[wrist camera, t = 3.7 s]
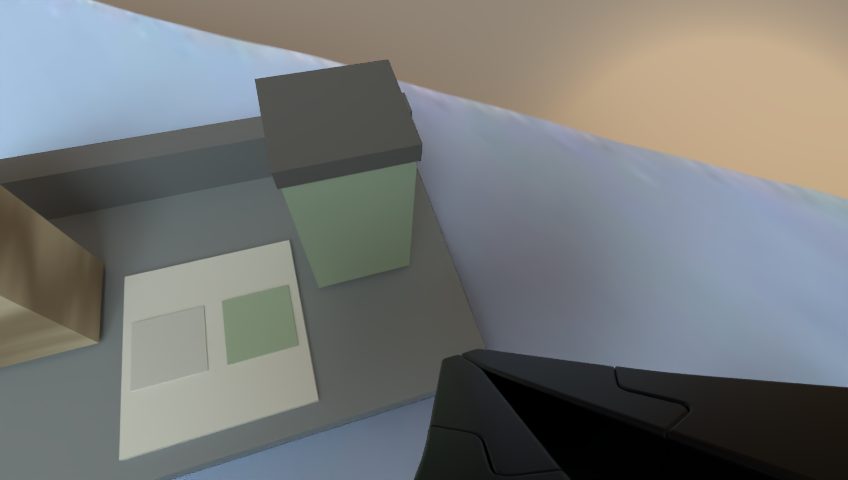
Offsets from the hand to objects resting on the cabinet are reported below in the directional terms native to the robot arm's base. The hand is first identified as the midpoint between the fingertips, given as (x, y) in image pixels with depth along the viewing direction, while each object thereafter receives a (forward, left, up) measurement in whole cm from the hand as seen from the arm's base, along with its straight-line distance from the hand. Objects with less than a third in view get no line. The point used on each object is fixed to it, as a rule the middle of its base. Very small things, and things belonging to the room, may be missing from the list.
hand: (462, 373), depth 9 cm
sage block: (+5, +8, -10) cm, 14 cm away
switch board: (-1, +12, -12) cm, 17 cm away
